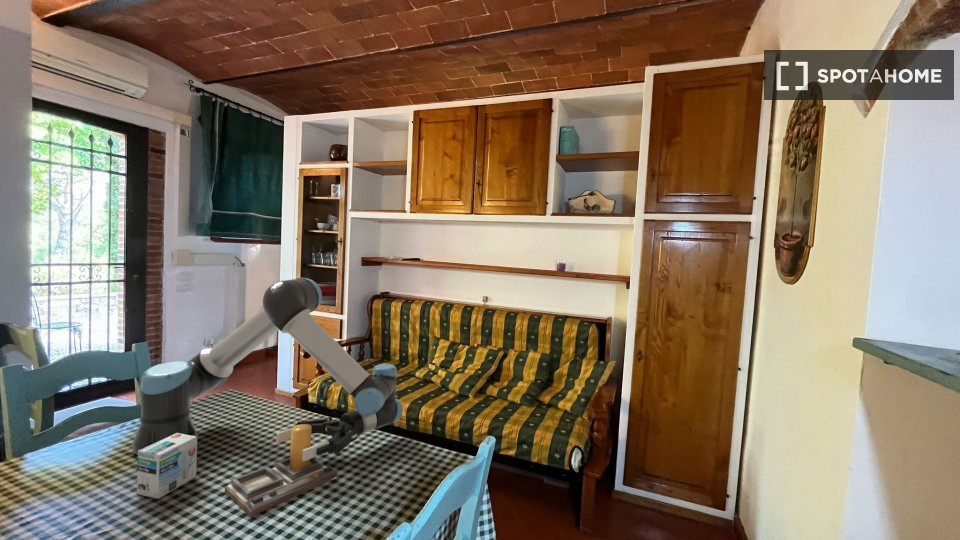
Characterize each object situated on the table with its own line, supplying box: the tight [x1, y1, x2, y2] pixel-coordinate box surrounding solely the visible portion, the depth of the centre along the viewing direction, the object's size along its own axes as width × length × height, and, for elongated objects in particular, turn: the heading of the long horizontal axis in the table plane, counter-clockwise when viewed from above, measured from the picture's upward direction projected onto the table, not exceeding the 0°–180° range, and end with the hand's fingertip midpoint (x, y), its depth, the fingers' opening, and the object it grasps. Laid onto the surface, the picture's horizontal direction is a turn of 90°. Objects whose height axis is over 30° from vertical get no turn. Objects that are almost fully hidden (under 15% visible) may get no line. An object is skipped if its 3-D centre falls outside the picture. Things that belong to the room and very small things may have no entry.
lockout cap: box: [289, 424, 312, 472], centre depth 111 cm, size 5×5×11 cm
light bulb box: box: [136, 433, 198, 500], centre depth 103 cm, size 11×7×11 cm, turn 168°
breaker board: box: [224, 456, 338, 517], centre depth 106 cm, size 14×22×3 cm, turn 142°
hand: (289, 446), depth 109 cm, fingers open, 13 cm apart
